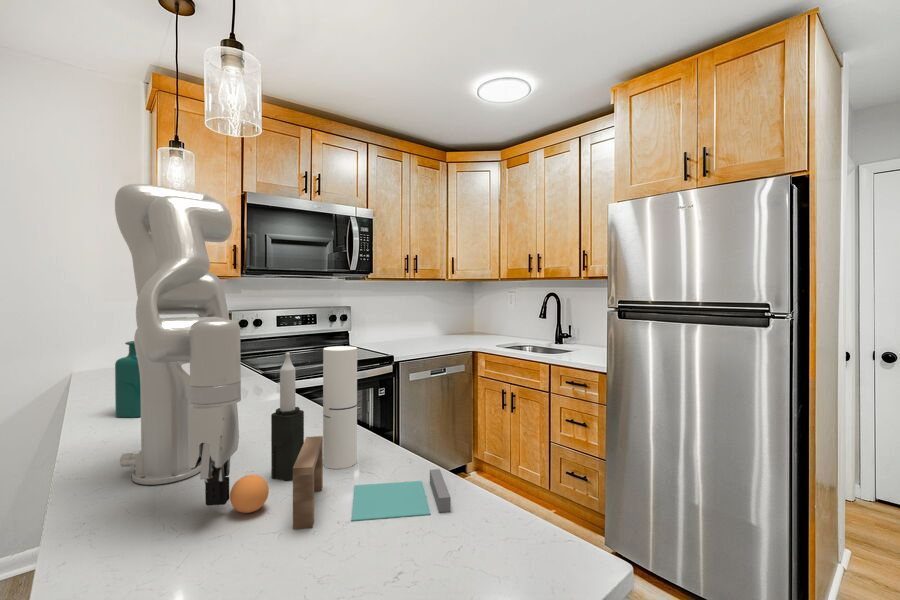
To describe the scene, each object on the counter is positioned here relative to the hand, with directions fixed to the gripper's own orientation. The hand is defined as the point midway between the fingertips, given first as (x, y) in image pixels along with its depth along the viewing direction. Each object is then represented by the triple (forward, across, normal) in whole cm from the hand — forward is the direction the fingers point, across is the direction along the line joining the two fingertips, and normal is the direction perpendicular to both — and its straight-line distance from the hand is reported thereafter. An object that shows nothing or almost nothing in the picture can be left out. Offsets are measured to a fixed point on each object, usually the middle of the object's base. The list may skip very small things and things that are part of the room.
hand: (217, 502), depth 75 cm
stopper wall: (+2, -2, +38) cm, 38 cm away
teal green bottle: (0, -66, -46) cm, 80 cm away
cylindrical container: (+2, -20, +18) cm, 27 cm away
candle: (+2, -15, +8) cm, 17 cm away
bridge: (+2, -1, +15) cm, 15 cm away
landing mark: (+2, -2, +29) cm, 29 cm away
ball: (-1, 0, +5) cm, 5 cm away
